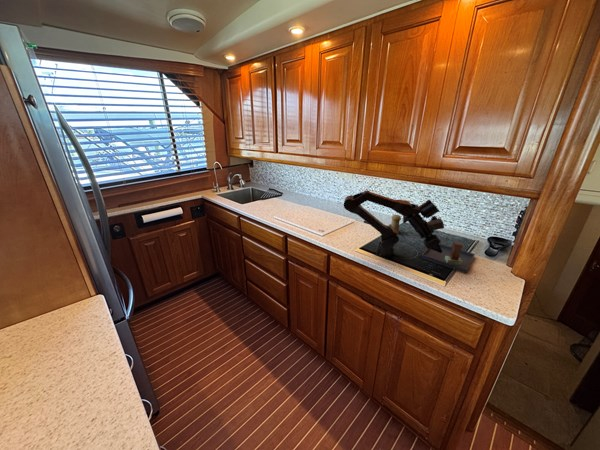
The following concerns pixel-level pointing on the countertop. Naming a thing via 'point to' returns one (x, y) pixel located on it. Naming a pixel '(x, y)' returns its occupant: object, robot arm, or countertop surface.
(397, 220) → the cork
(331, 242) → the countertop surface
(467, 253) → the tray
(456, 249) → the brown green handled brush
